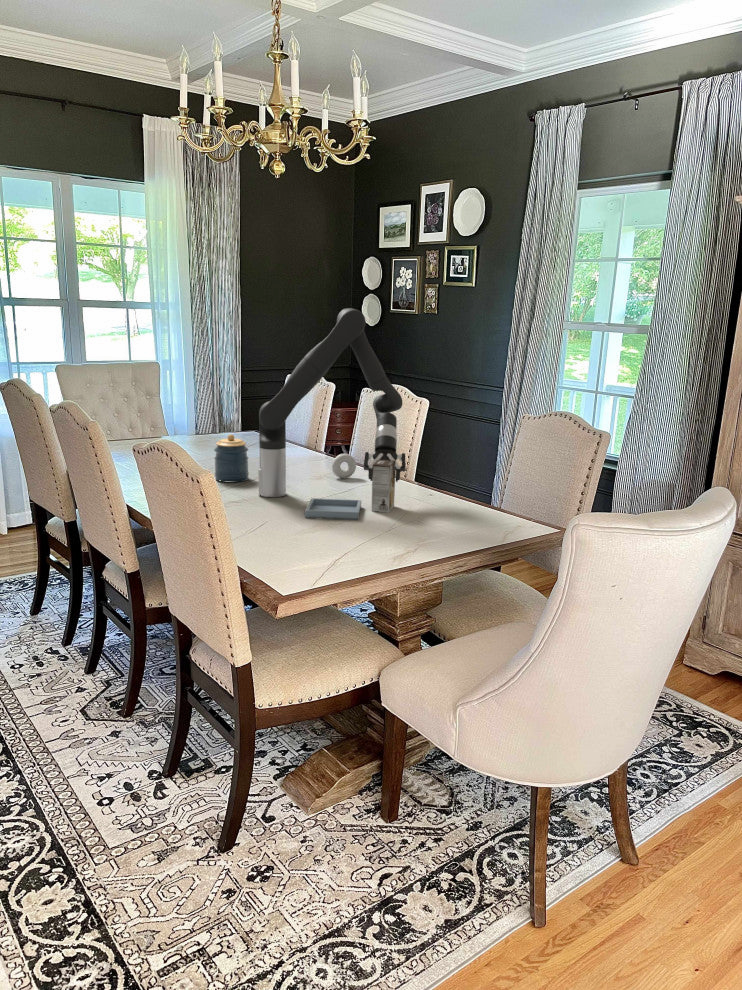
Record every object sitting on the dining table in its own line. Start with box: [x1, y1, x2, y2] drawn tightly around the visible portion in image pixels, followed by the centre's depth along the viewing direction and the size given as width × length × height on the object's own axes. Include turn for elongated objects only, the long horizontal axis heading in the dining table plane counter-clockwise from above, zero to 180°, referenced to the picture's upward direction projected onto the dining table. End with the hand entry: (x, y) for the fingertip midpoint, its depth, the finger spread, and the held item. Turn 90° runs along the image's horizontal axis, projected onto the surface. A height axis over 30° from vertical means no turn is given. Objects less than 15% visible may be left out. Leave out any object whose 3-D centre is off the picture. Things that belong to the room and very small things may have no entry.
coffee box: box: [371, 460, 397, 513], centre depth 252 cm, size 9×6×16 cm
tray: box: [304, 497, 362, 521], centre depth 247 cm, size 17×16×2 cm
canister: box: [213, 433, 250, 482], centre depth 289 cm, size 13×13×18 cm
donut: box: [331, 453, 357, 479], centre depth 296 cm, size 10×3×10 cm, turn 109°
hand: (384, 480), depth 252 cm, fingers open, 8 cm apart
